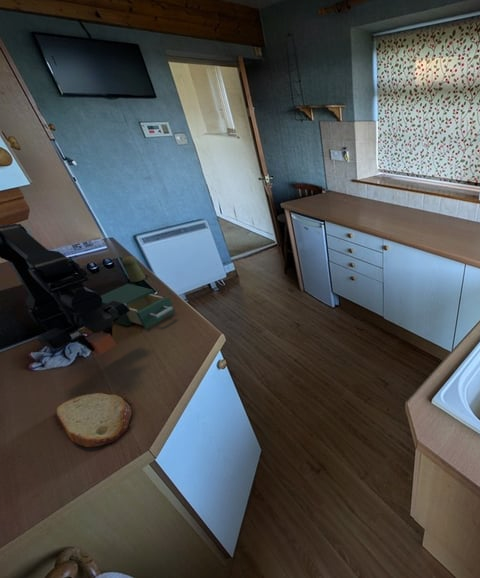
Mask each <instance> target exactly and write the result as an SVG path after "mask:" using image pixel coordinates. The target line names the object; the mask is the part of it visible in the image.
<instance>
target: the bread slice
mask: <svg viewBox="0 0 480 578" xmlns="http://www.w3.org/2000/svg"><path fill="white" fill-rule="evenodd" d="M131 417H132V409H131V406H130V405H129V404H128V403H127V402H126V401H125V400H124V398H122V397H121V396H119V395H117V394H107V393H106V394H105V393H102V392H100V393H99V392H98V393H97V392H95V393H88V394H87V393H86V394H84V395H79V396H76V397H74V398H71V399H69V400H67V401H65V402H63V403H61V404H60V405H58V407H57V408H56V418H57V420H58V423H59V425H60V426H61V428H62V429H63V431H64V433H65V434H66V436H67V437H68V439H70V441H71V442H73V443H75V444H78V445H80V446H82V447H84V448H92V447H93V448H94V447H100V446H104V445H107V444H112V443H114V442H115V441H117V440H118V439H120V437H121V436H122V435H123V434H124V433H126V432H127V430H128V428H129V422H130V419H131Z"/></svg>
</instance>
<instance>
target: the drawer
mask: <svg viewBox="0 0 480 578" xmlns="http://www.w3.org/2000/svg"><path fill="white" fill-rule="evenodd" d="M128 307H129V309H130V311H129V312H127V313H125V316H126V317H127V319H128V321H130V322H133V323H134V324H137V325H141V326H142V327H143V329H149V328H150V327H152V326H154V325H155V324H157V323H158V322H160V321H162V320H163V319H165V318H167V317H168V316H170V315H172V314H173V313H175V312H176V309H175V307H174V305H173V303H172V301H171V298H170V296H164V297H163V296H161V295H157V294H155V295H153V294H148V295H146V296H144V297H142V298H140V299H138V300H136V301H134V302H132V303H130V304H128Z"/></svg>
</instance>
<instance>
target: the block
mask: <svg viewBox="0 0 480 578" xmlns="http://www.w3.org/2000/svg"><path fill="white" fill-rule="evenodd" d="M86 339H87V341H88V342H89V343H90V344H91V345H92V347H93V348H94V351H91V350H89V352H91V353H94V354H96V355H97V354H98V355H100V356H101V355H103V354H104V353H106V352H108V351H109V350H112V349H113V348H114V347H115V348H116V347H117V344H116V342H115V340H114V338H113V336H112V337H111V335H110V334H108V333H105V332H102V331H101V332H99V333H93V334H91V335H89V336H87V337H86Z"/></svg>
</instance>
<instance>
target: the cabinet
mask: <svg viewBox="0 0 480 578" xmlns="http://www.w3.org/2000/svg"><path fill="white" fill-rule="evenodd" d="M148 294H153V295H156V293H155V291H154V289H151V288H148V287H143V286H140V285H136V284H132V283H126V284H124V285H122V286H119V287H117V288H115V289H113V290H111V291H108V292H105V293H104V294H102V295H100V296H101V298H102V304H101V306H103V305H105V304H107V303H109V302H112V301H118V302H121V303H125V304H126V305H128V304H130V303H132V302H134V301H136V300H138V299H140V298H142V297H144V296H146V295H148ZM101 306H100V307H99V309H101ZM117 317H118V320H116V321H115V322H114V323H116V324H120V325H123V326H125V327H130V326H132V325H134V324H135V323H133V322H130V321H128V319H127V317H126V316H125V314H124V315H122V316H117Z"/></svg>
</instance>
